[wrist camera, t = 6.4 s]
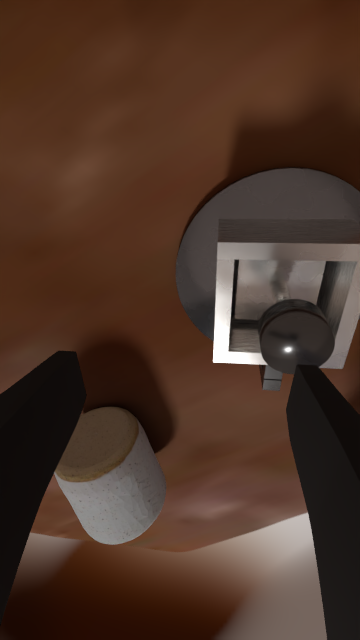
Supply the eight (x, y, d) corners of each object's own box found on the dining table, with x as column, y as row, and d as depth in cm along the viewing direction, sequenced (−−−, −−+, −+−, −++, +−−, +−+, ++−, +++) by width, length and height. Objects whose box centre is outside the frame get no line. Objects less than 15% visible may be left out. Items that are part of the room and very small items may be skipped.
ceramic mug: (146, 395, 27) (120, 485, 20) (173, 457, 31) (158, 548, 24) (36, 406, 29) (-18, 489, 23) (74, 461, 33) (37, 545, 27)
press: (417, 165, 16) (472, 181, 12) (353, 357, 22) (377, 404, 19) (172, 168, 17) (159, 183, 14) (179, 349, 24) (171, 391, 20)
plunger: (326, 244, 17) (370, 301, 12) (310, 316, 20) (340, 389, 15) (239, 242, 18) (246, 297, 13) (234, 313, 20) (238, 384, 15)
